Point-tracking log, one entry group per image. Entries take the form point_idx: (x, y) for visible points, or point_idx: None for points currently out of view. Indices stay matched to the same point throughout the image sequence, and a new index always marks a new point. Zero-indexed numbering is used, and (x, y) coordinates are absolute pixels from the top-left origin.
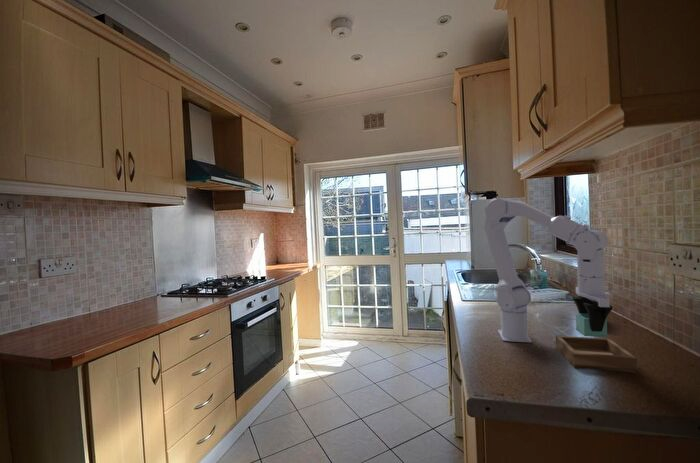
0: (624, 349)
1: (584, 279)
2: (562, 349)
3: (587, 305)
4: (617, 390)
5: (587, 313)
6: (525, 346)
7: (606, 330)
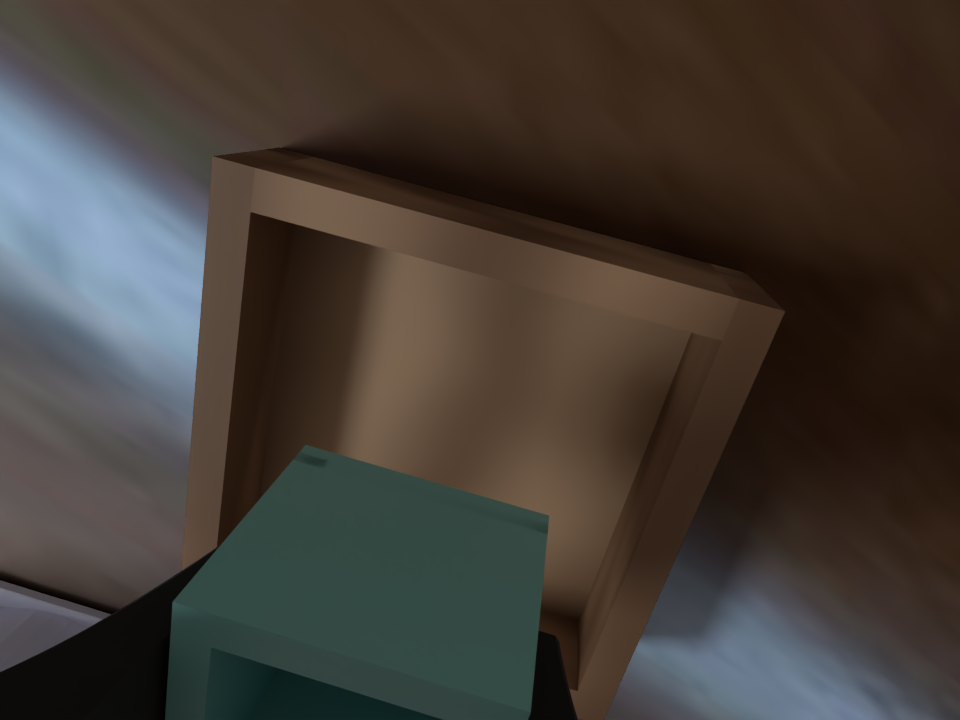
0: (548, 247)
1: None
2: None
3: None
4: (957, 617)
5: (155, 713)
6: None
7: (540, 575)
